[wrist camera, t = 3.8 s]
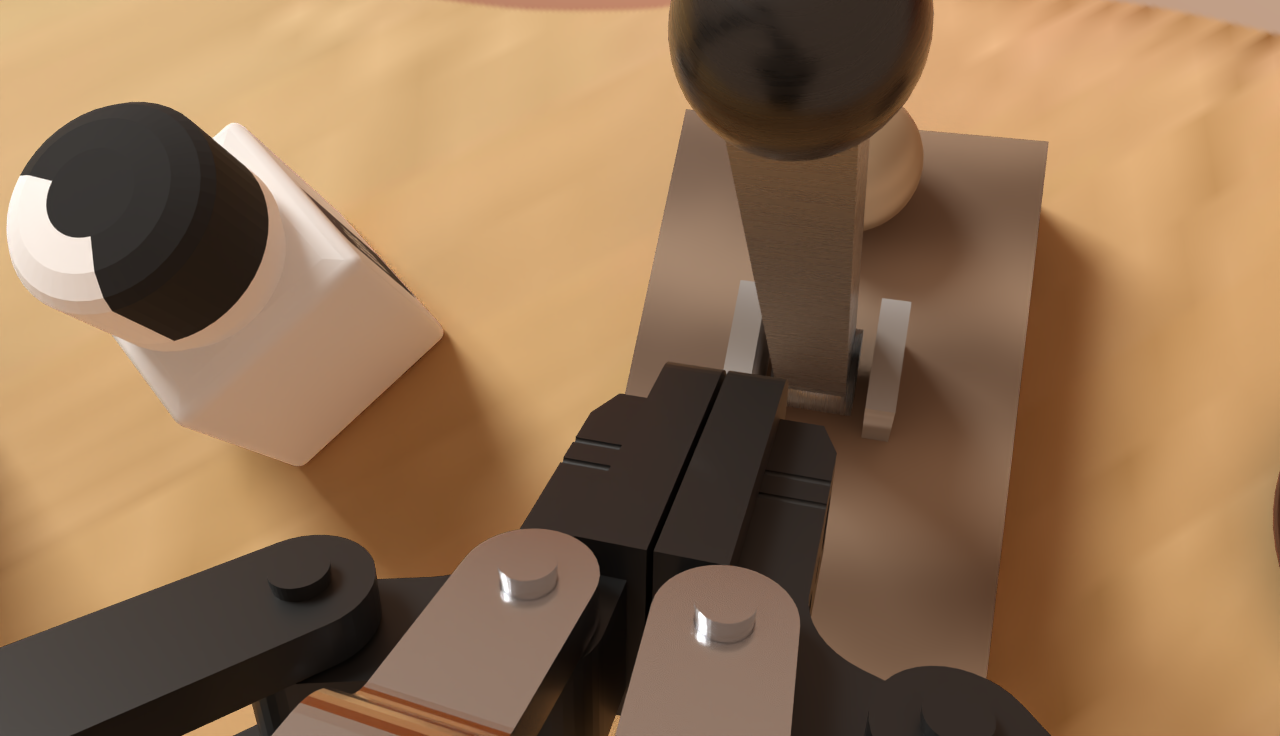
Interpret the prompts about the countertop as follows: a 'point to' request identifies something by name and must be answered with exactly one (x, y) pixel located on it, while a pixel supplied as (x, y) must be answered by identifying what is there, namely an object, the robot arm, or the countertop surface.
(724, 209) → the bench block
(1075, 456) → the countertop surface
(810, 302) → the lever
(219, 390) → the container
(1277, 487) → the cup and saucer
